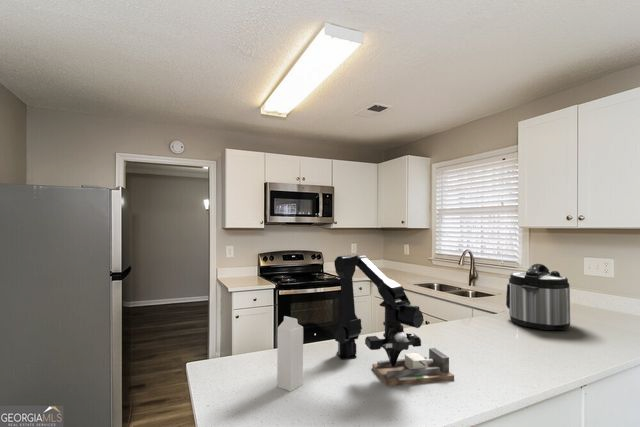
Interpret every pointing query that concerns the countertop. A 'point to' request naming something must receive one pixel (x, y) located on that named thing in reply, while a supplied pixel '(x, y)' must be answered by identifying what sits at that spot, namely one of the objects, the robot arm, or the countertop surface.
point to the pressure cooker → (539, 299)
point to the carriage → (416, 361)
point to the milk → (290, 354)
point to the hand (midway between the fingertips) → (393, 366)
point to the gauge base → (415, 371)
